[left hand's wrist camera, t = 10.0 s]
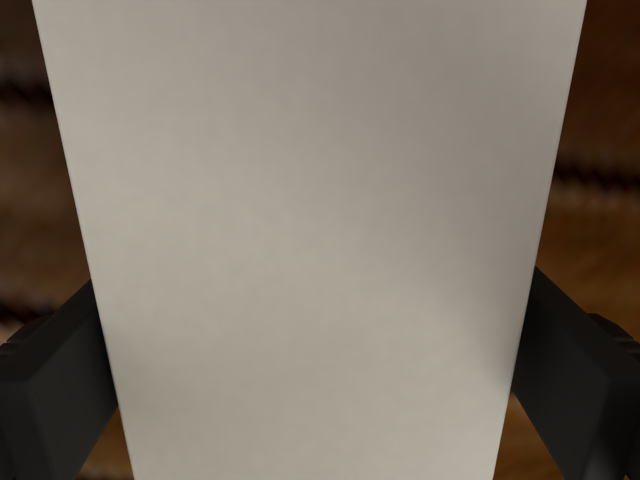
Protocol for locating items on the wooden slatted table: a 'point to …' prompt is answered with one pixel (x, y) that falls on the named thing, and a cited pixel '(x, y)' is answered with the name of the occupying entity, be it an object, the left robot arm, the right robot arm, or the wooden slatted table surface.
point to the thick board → (311, 222)
